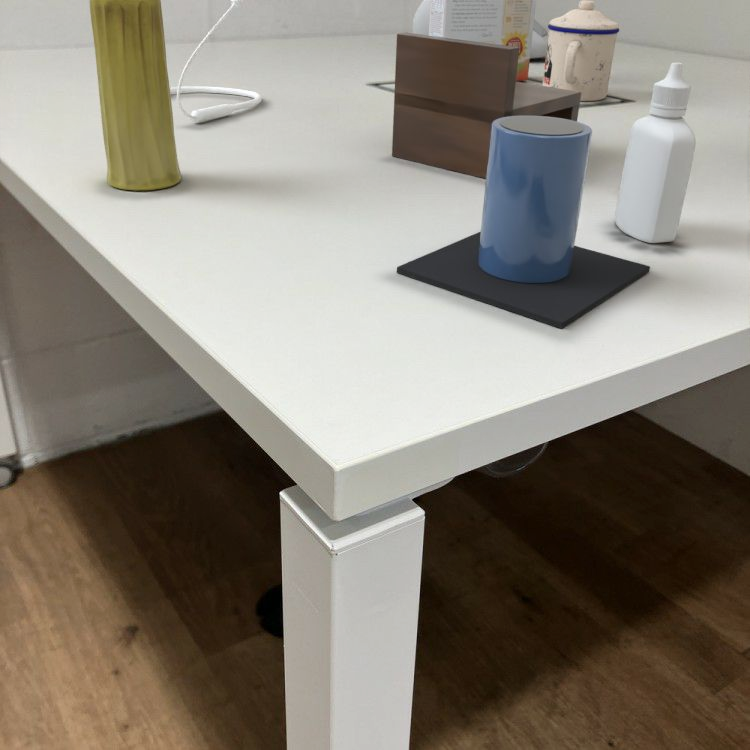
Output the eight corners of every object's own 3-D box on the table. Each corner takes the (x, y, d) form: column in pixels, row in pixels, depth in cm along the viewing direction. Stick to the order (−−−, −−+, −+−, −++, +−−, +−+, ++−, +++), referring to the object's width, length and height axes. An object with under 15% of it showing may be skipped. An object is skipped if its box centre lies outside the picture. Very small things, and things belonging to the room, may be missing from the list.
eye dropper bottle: (671, 223, 63) (707, 59, 58) (675, 247, 59) (714, 71, 53) (614, 217, 64) (643, 55, 58) (613, 240, 60) (644, 67, 54)
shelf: (472, 133, 88) (482, 23, 83) (572, 154, 82) (590, 36, 76) (391, 156, 79) (396, 33, 74) (496, 181, 72) (511, 48, 67)
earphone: (82, 84, 85) (133, -45, 91) (143, 178, 100) (183, 62, 106) (204, 94, 82) (248, -40, 89) (247, 189, 98) (282, 69, 104)
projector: (454, 67, 129) (462, -37, 121) (387, 47, 146) (390, -45, 139) (566, 61, 138) (579, -36, 130) (489, 43, 155) (498, -43, 148)
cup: (508, 243, 57) (524, 110, 53) (586, 266, 54) (610, 125, 49) (459, 266, 53) (472, 123, 49) (540, 292, 50) (562, 141, 45)
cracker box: (508, 75, 123) (525, -84, 113) (528, 82, 118) (548, -84, 108) (423, 77, 119) (432, -88, 109) (440, 85, 114) (451, -88, 104)
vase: (175, 169, 72) (159, -9, 65) (187, 188, 67) (172, -2, 60) (103, 173, 70) (79, -9, 63) (110, 194, 65) (85, -2, 58)
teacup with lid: (546, 87, 115) (558, -4, 110) (612, 93, 113) (627, 0, 107) (528, 101, 106) (540, 2, 100) (599, 108, 103) (615, 7, 97)
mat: (496, 229, 61) (497, 224, 61) (649, 271, 54) (650, 266, 54) (396, 272, 53) (396, 266, 53) (561, 329, 46) (562, 322, 46)
